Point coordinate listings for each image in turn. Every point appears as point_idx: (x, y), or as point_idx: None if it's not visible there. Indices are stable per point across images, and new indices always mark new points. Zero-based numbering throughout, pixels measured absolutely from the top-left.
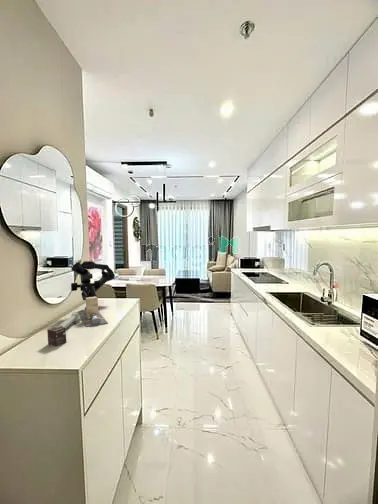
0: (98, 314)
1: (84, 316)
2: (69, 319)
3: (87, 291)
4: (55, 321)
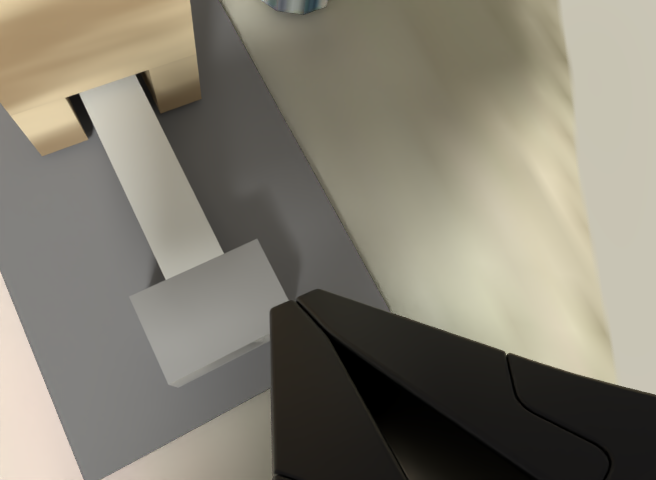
0: (40, 252)
1: (258, 165)
2: None
3: (342, 391)
4: (566, 56)
